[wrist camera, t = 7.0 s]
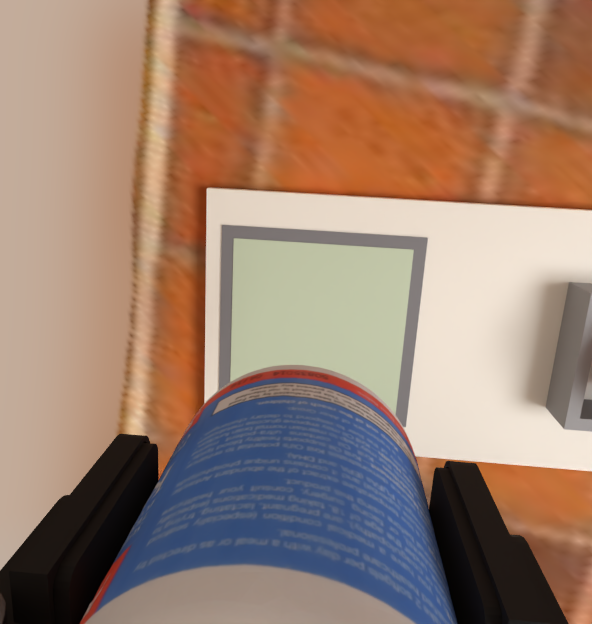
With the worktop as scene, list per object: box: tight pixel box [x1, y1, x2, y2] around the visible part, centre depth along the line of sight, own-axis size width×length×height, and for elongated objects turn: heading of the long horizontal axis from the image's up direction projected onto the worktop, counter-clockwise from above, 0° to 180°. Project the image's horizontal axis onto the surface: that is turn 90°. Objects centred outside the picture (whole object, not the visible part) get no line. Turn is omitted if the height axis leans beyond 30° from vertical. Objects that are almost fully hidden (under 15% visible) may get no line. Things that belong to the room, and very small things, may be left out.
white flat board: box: [204, 187, 592, 471], centre depth 22 cm, size 11×21×3 cm, turn 87°
